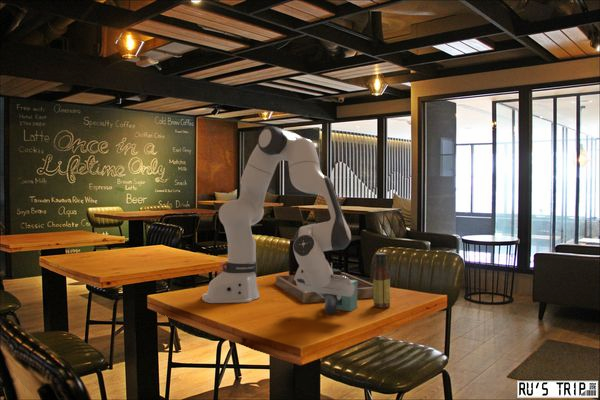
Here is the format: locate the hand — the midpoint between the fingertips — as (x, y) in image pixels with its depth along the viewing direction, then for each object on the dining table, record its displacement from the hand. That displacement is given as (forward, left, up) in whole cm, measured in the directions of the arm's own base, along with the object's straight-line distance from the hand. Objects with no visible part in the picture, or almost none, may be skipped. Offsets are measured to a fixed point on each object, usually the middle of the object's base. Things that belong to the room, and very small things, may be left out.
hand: (331, 297), depth 169 cm
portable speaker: (+9, +58, -6) cm, 58 cm away
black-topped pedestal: (+10, +31, -6) cm, 34 cm away
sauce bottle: (+22, +3, -6) cm, 22 cm away
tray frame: (+13, +34, -5) cm, 36 cm away
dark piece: (+4, +3, -5) cm, 7 cm away
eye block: (+6, +5, -5) cm, 10 cm away
